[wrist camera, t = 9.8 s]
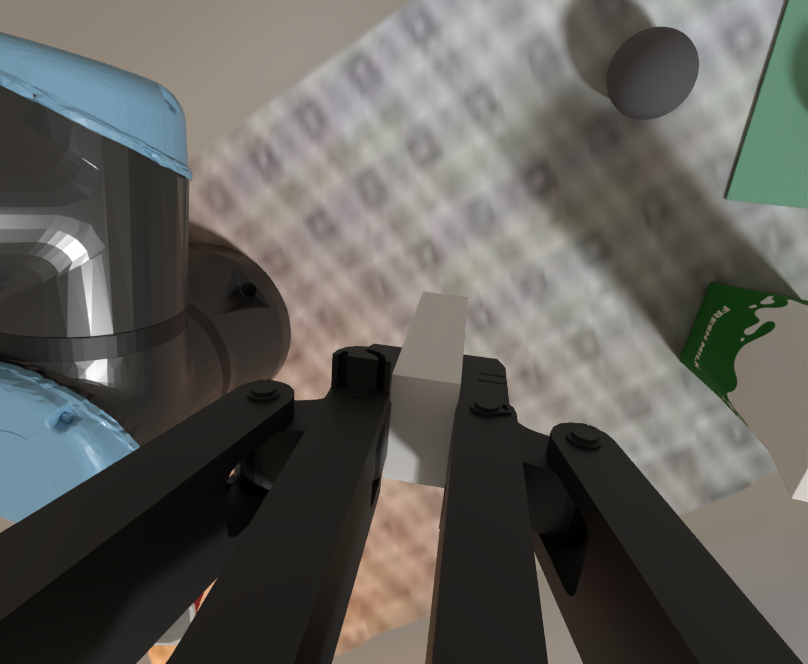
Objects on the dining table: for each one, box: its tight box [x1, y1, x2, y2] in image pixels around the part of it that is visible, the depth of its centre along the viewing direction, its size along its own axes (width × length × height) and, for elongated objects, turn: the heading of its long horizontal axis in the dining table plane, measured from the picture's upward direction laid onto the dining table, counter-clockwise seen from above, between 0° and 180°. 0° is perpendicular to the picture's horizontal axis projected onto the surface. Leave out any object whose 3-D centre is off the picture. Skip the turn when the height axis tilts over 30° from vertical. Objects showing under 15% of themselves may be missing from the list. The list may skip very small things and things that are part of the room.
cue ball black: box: [607, 27, 699, 120], centre depth 34 cm, size 6×6×6 cm
